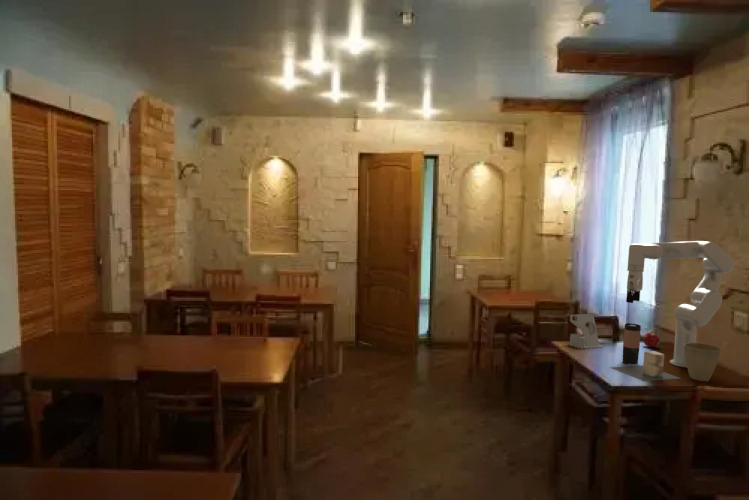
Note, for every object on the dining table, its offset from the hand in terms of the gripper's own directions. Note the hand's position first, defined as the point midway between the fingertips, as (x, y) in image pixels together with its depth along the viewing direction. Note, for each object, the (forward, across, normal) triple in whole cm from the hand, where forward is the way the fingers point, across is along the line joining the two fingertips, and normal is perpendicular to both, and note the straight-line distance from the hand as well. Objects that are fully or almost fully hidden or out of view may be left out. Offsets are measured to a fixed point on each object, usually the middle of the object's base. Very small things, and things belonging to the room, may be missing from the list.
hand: (632, 301), depth 285 cm
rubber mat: (+32, -13, -12) cm, 37 cm away
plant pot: (+32, -2, -33) cm, 46 cm away
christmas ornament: (+32, +51, +4) cm, 61 cm away
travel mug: (+32, +3, 0) cm, 33 cm away
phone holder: (+33, +22, +31) cm, 50 cm away
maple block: (+32, -15, -16) cm, 39 cm away
